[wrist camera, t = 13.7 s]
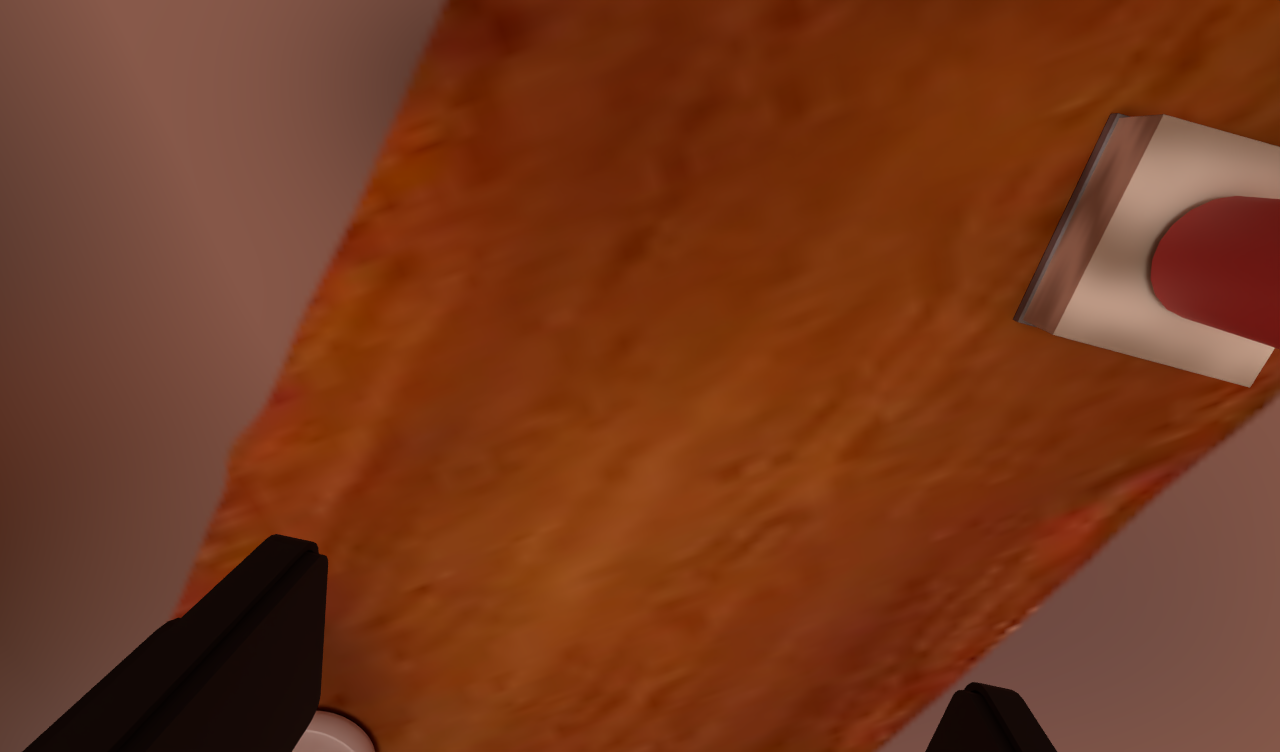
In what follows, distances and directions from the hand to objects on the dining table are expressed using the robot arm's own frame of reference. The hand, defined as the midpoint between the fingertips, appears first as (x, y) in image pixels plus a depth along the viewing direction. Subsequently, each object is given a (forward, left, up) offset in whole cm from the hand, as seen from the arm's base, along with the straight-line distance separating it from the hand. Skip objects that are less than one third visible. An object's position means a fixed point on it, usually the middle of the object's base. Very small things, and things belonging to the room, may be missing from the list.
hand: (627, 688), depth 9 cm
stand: (-9, +28, -33) cm, 44 cm away
